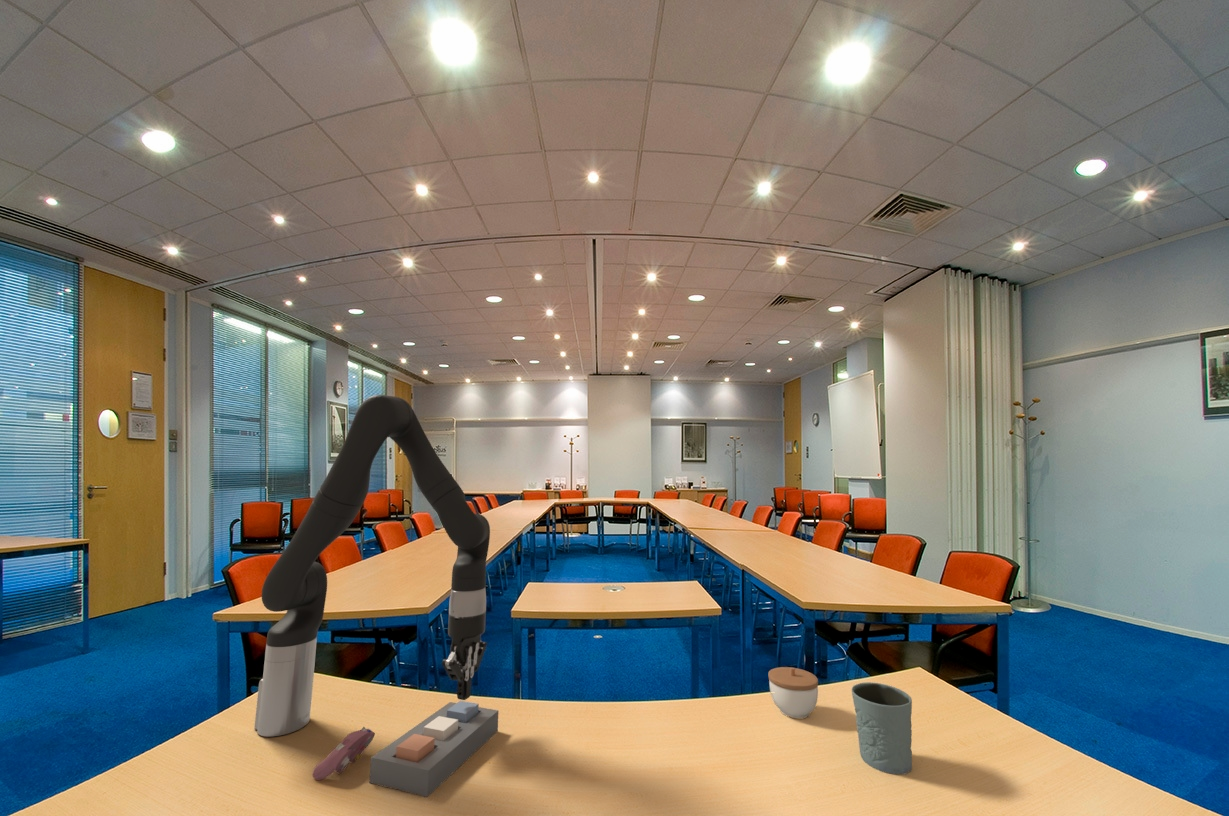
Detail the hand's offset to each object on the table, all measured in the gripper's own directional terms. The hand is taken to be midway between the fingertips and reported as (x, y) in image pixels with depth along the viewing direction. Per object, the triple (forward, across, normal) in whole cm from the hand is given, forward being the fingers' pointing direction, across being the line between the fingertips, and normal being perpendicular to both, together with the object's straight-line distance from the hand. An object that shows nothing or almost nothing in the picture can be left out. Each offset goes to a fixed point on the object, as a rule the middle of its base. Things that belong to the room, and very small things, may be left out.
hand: (463, 698), depth 99 cm
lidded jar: (+8, -33, +65) cm, 73 cm away
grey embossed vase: (+8, -18, +81) cm, 83 cm away
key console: (+7, +7, 0) cm, 10 cm away
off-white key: (+4, +7, 0) cm, 8 cm away
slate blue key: (+4, 0, 0) cm, 4 cm away
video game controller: (+8, +16, -14) cm, 22 cm away
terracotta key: (+4, +14, 0) cm, 15 cm away
